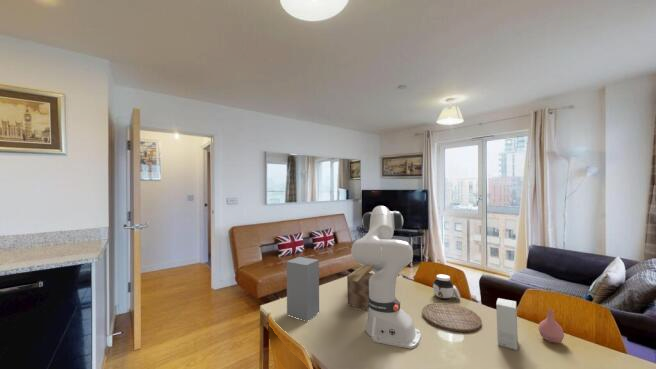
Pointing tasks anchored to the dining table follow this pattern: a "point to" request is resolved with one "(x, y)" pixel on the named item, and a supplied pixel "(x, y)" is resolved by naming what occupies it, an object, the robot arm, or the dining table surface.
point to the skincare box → (507, 323)
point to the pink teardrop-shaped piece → (551, 329)
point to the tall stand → (303, 288)
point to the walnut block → (358, 291)
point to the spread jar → (444, 288)
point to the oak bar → (360, 272)
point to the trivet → (451, 317)
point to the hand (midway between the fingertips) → (371, 260)
